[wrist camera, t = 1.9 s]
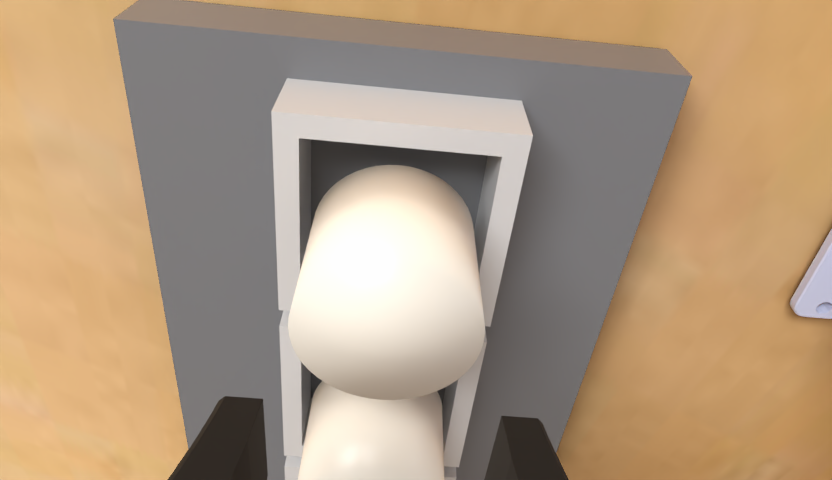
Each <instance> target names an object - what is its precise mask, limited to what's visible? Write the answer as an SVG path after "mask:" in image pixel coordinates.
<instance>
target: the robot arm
mask: <svg viewBox="0 0 832 480" xmlns="http://www.w3.org/2000/svg"><path fill="white" fill-rule="evenodd" d="M822 303H823V304H822ZM819 304H821V305H819ZM818 305H819V306H818ZM790 306H791V308H792V309H793V311H794V312H795V313H796V314H797V315H798V316H802V317H813V318H825V319H832V229H831V231H830V232H829V234H828V236H827V238H826V239H825V241H824V243H823V245H822V246H821V248H820V250H819V252H818V253H817V255H816V257H815V258H814V260H813V262H812V264H811V265H810V267H809V269H808V271H807V272H806V274H805V276H804V278H803V279H802V281H801V283H800V285H799V286H798V288H797V290H796V291H795V293H794V295H793V297H792V298H791V301H790ZM267 476H268V470H267V454H266V438H265V422H264V406H263V399H260V398H245V397H231V396H225V397H223V398H222V399H220V400H219V401H218V403H217V404H216V406H215V408H214V410H213V411H212V413H211V415H210V416H209V418H208V420H207V421H206V423H205V425H204V426H203V428H202V429H201V431H200V433H199V434H198V436H197V437H196V439H195V440H194V442H193V444H192V445H191V447H190V448H189V450H188V451H187V453H186V454H185V456H184V457H183V458H182V460H181V461H180V463H179V464H178V466H177V467H176V469H175V470H174V472H173V473H172V475H171V476H170V477H169V479H168V480H267ZM484 480H568V478H567V476H566V474H565V472H564V469H563V467H562V465H561V463H560V461H559V459H558V457H557V455H556V453H555V450H554V448H553V446H552V444H551V441H550V439H549V437H548V435H547V432H546V430H545V428H544V425H543V423H542V422H541V421H540V420H539V419H538V418H527V417H513V416H501V419H500V423H499V427H498V430H497V434H496V438H495V442H494V445H493V449H492V453H491V457H490V460H489V464H488V468H487V472H486V475H485V479H484Z"/></svg>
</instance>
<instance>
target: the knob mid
mask: <svg viewBox="0 0 832 480" xmlns="http://www.w3.org/2000/svg"><path fill="white" fill-rule="evenodd" d="M298 480H444V450H443V419H442V402H441V399H440V396H439V394H438V392H437V391H436V392H433V393H430V394H427V395H424V396H420V397H416V398H409V399H401V400H378V399H370V398H364V397H360V396H356V395H352V394H349V393H346V392H343V391H341V390H338V389H336V388H334V387H332V386H330V385H328V384H327V383H325V382H323V381H322V382H321V383H320V384H319V385H318V387H317V388H316V390H315V392H314V395H313V398H312V403H311V409H310V414H309V420H308V425H307V431H306V436H305V442H304V447H303V453H302V458H301V464H300V469H299V475H298Z"/></svg>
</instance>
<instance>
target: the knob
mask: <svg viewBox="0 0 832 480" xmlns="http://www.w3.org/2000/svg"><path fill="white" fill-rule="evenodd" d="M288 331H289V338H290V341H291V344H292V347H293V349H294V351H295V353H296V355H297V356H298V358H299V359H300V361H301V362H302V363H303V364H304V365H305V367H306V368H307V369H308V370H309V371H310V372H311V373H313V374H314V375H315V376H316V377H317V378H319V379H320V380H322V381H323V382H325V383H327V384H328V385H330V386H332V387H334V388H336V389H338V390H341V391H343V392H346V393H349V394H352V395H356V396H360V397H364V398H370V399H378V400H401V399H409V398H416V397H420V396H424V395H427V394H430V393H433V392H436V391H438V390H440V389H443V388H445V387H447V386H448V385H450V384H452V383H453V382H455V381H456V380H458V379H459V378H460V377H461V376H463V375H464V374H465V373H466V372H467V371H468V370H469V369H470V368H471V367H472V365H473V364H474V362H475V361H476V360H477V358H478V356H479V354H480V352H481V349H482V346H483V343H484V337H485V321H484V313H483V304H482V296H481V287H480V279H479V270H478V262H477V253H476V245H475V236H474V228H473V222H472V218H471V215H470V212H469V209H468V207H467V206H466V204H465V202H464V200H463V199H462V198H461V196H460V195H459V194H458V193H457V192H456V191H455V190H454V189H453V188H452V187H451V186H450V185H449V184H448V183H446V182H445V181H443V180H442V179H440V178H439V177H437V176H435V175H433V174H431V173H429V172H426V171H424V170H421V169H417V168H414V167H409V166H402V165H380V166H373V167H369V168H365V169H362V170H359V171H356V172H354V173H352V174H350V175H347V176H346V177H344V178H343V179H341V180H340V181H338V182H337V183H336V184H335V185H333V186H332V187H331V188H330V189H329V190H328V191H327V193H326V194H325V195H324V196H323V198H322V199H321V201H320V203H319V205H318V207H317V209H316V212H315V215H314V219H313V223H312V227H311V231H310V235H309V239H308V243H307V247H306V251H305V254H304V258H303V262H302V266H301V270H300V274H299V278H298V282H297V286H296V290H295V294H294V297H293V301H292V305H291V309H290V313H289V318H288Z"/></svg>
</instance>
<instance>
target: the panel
mask: <svg viewBox="0 0 832 480" xmlns="http://www.w3.org/2000/svg"><path fill="white" fill-rule="evenodd" d="M113 20H114V26H115V32H116V38H117V43H118V49H119V55H120V60H121V66H122V72H123V77H124V83H125V89H126V95H127V100H128V106H129V112H130V117H131V123H132V129H133V134H134V140H135V146H136V152H137V157H138V163H139V169H140V174H141V180H142V186H143V191H144V197H145V203H146V209H147V214H148V220H149V226H150V231H151V237H152V243H153V248H154V254H155V260H156V266H157V271H158V277H159V283H160V288H161V294H162V300H163V305H164V311H165V317H166V323H167V328H168V334H169V340H170V345H171V351H172V357H173V362H174V368H175V374H176V380H177V385H178V391H179V397H180V402H181V408H182V414H183V419H184V425H185V431H186V437H187V442H188V448H190V447H191V445H192V444H193V442H194V440H195V439H196V437H197V436H198V434H199V433H200V431H201V429H202V428H203V426H204V425H205V423H206V421H207V420H208V418H209V416H210V415H211V413H212V411H213V410H214V408H215V406H216V404H217V403H218V401H219V400H220V399H222V398H223V397H225V396H231V397H245V398H260V399H263V406H264V422H265V438H266V454H267V470H268V476H267V480H298V475H299V469H300V464H301V458H302V453H303V447H304V442H305V436H306V431H307V425H308V420H309V414H310V409H311V403H312V398H313V395H314V392H315V390H316V388H317V387H318V385H319V384H320V383H321V382H322V380H320V379H319V378H317V377H316V376H315V375H314V374H313V373H311V372H310V371H309V370H308V369H307V368H306V367H305V365H304V364H303V363H302V362H301V361H300V359H299V358H298V356H297V355H296V353H295V351H294V349H293V347H292V344H291V341H290V338H289V331H288V318H289V313H290V309H291V305H292V301H293V297H294V294H295V290H296V286H297V282H298V278H299V274H300V270H301V266H302V262H303V258H304V254H305V251H306V247H307V243H308V239H309V235H310V231H311V227H312V223H313V219H314V215H315V212H316V209H317V207H318V205H319V203H320V201H321V199H322V198H323V196H324V195H325V194H326V193H327V191H328V190H329V189H330V188H331V187H332V186H333V185H335V184H336V183H337V182H338V181H340V180H341V179H343V178H344V177H346V176H347V175H350V174H352V173H354V172H356V171H359V170H362V169H365V168H369V167H373V166H380V165H402V166H409V167H414V168H417V169H421V170H424V171H426V172H429V173H431V174H433V175H435V176H437V177H439V178H440V179H442V180H443V181H445V182H446V183H448V184H449V185H450V186H451V187H452V188H453V189H454V190H455V191H456V192H457V193H458V194H459V195H460V196H461V198H462V199H463V200H464V202H465V204H466V206H467V207H468V209H469V212H470V215H471V218H472V222H473V228H474V236H475V245H476V253H477V262H478V270H479V279H480V287H481V296H482V304H483V313H484V321H485V337H484V343H483V346H482V349H481V352H480V354H479V356H478V358H477V360H476V361H475V362H474V364H473V365H472V367H471V368H470V369H469V370H468V371H467V372H466V373H465V374H464V375H463V376H461V377H460V378H459V379H458V380H456V381H455V382H453V383H452V384H450V385H448V386H447V387H445V388H443V389H440V390H438V391H437V392H438V394H439V396H440V399H441V402H442V419H443V450H444V480H484V479H485V475H486V472H487V468H488V464H489V460H490V457H491V453H492V449H493V445H494V442H495V438H496V434H497V430H498V427H499V423H500V419H501V416H513V417H527V418H538V419H539V420H540V421H541V422H542V423H543V425H544V428H545V430H546V432H547V435H548V437H549V439H550V441H551V444H552V446H553V448H554V450H555V453H556V452H557V449H558V446H559V444H560V441H561V438H562V435H563V433H564V430H565V427H566V424H567V422H568V419H569V416H570V413H571V410H572V408H573V405H574V402H575V399H576V397H577V394H578V391H579V388H580V386H581V383H582V380H583V377H584V375H585V372H586V369H587V366H588V363H589V361H590V358H591V355H592V352H593V350H594V347H595V344H596V341H597V339H598V336H599V333H600V330H601V327H602V325H603V322H604V319H605V316H606V314H607V311H608V308H609V305H610V303H611V300H612V297H613V294H614V291H615V289H616V286H617V283H618V280H619V278H620V275H621V272H622V269H623V267H624V264H625V261H626V258H627V256H628V253H629V250H630V247H631V244H632V242H633V239H634V236H635V233H636V231H637V228H638V225H639V222H640V220H641V217H642V214H643V211H644V208H645V206H646V203H647V200H648V197H649V195H650V192H651V189H652V186H653V184H654V181H655V178H656V175H657V172H658V170H659V167H660V164H661V161H662V159H663V156H664V153H665V150H666V148H667V145H668V142H669V139H670V137H671V134H672V131H673V128H674V125H675V123H676V120H677V117H678V114H679V112H680V109H681V106H682V103H683V101H684V98H685V95H686V92H687V89H688V87H689V84H690V81H691V78H692V75H691V74H690V73H689V72H688V71H687V70H686V69H685V68H684V67H683V66H682V65H681V64H680V63H679V62H678V61H677V60H676V59H675V58H674V57H673V55H672V54H671V53H670V52H669V51H668V50H667V49H658V48H648V47H638V46H628V45H618V44H608V43H599V42H589V41H579V40H569V39H559V38H549V37H539V36H529V35H519V34H509V33H500V32H490V31H480V30H470V29H460V28H450V27H440V26H430V25H420V24H411V23H401V22H391V21H381V20H371V19H361V18H351V17H341V16H331V15H321V14H312V13H302V12H292V11H282V10H272V9H262V8H252V7H242V6H232V5H223V4H213V3H203V2H193V1H183V0H138V1H137V2H136V3H134V4H133V5H131V6H130V7H129V8H127V9H126V10H125V11H123V12H122V13H121V14H119V15H118V16H116V17H115V18H114V19H113Z"/></svg>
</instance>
